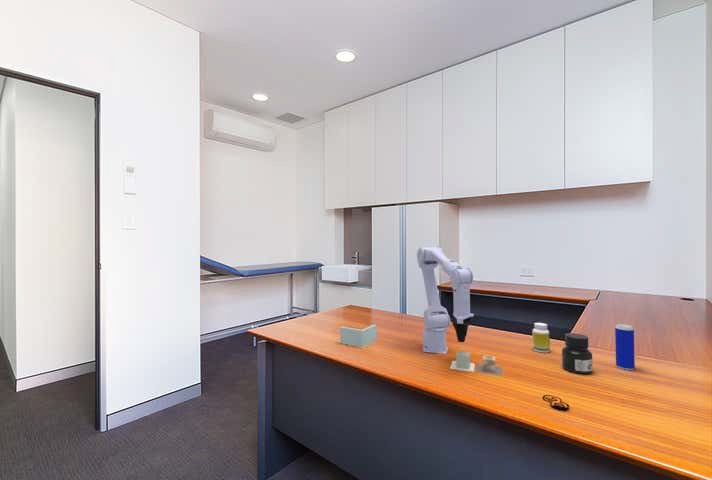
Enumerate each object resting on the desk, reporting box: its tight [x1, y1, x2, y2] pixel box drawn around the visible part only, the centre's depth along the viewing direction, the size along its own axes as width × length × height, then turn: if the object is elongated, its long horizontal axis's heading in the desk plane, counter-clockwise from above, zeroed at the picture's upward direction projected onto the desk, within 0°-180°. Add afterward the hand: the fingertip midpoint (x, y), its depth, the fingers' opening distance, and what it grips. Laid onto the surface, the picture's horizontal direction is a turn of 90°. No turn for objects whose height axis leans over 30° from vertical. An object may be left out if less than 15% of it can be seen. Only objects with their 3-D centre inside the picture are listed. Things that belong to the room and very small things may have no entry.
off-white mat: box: [449, 360, 476, 373], centre depth 118 cm, size 8×8×1 cm
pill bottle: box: [531, 322, 551, 354], centre depth 134 cm, size 6×6×11 cm
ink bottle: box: [561, 332, 593, 375], centre depth 114 cm, size 10×9×12 cm
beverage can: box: [614, 323, 636, 371], centre depth 115 cm, size 5×5×15 cm
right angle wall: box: [339, 324, 377, 348], centre depth 150 cm, size 12×12×8 cm
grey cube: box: [482, 355, 496, 372], centre depth 114 cm, size 4×4×4 cm
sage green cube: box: [455, 350, 471, 369], centre depth 118 cm, size 4×4×4 cm
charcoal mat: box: [476, 363, 503, 376], centre depth 114 cm, size 8×8×1 cm
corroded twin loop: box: [542, 394, 570, 411], centre depth 91 cm, size 5×8×1 cm, turn 3°
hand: (462, 338), depth 118 cm, fingers open, 7 cm apart
